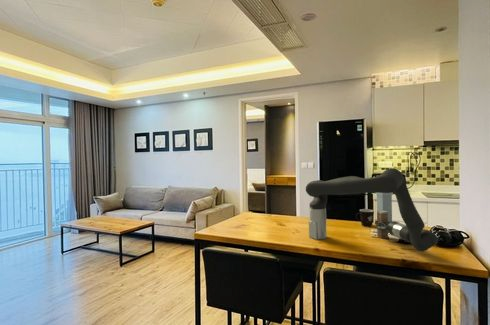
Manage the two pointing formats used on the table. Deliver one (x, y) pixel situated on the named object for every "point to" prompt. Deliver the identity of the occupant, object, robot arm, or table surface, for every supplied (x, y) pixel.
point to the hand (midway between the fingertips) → (379, 222)
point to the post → (385, 203)
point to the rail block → (382, 217)
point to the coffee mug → (366, 217)
